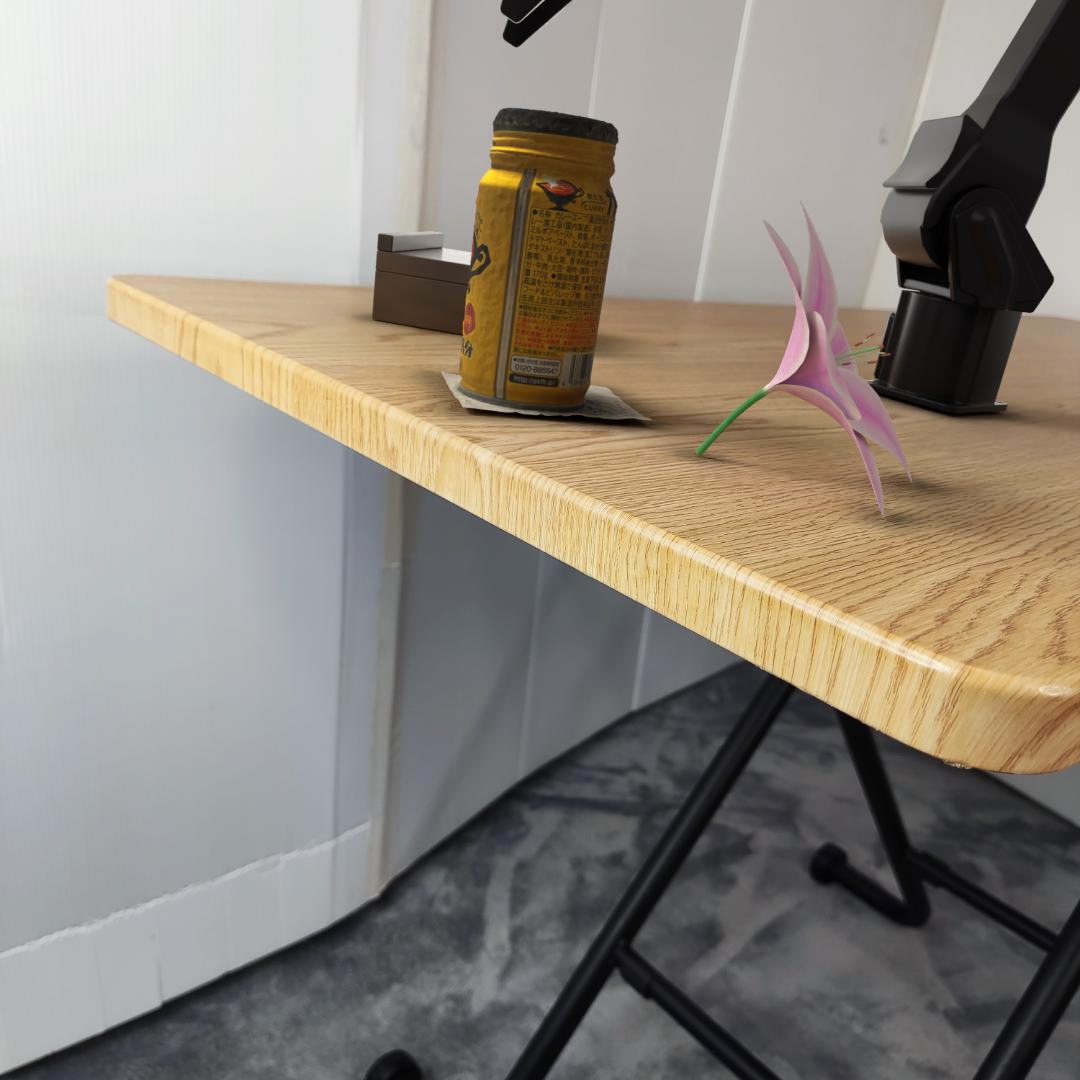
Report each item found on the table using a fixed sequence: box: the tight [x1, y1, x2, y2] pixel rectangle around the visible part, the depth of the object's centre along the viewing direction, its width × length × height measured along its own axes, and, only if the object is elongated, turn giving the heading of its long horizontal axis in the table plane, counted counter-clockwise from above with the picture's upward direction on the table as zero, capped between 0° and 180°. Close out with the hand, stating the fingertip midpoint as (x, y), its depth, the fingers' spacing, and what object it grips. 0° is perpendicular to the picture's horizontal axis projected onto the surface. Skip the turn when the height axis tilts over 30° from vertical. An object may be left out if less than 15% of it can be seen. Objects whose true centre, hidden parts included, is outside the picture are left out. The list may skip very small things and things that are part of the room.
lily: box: [695, 199, 913, 518], centre depth 36 cm, size 12×12×10 cm
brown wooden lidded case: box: [371, 230, 472, 336], centre depth 62 cm, size 11×10×5 cm
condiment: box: [440, 107, 653, 421], centre depth 42 cm, size 7×8×12 cm
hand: (508, 31), depth 51 cm, fingers open, 9 cm apart
